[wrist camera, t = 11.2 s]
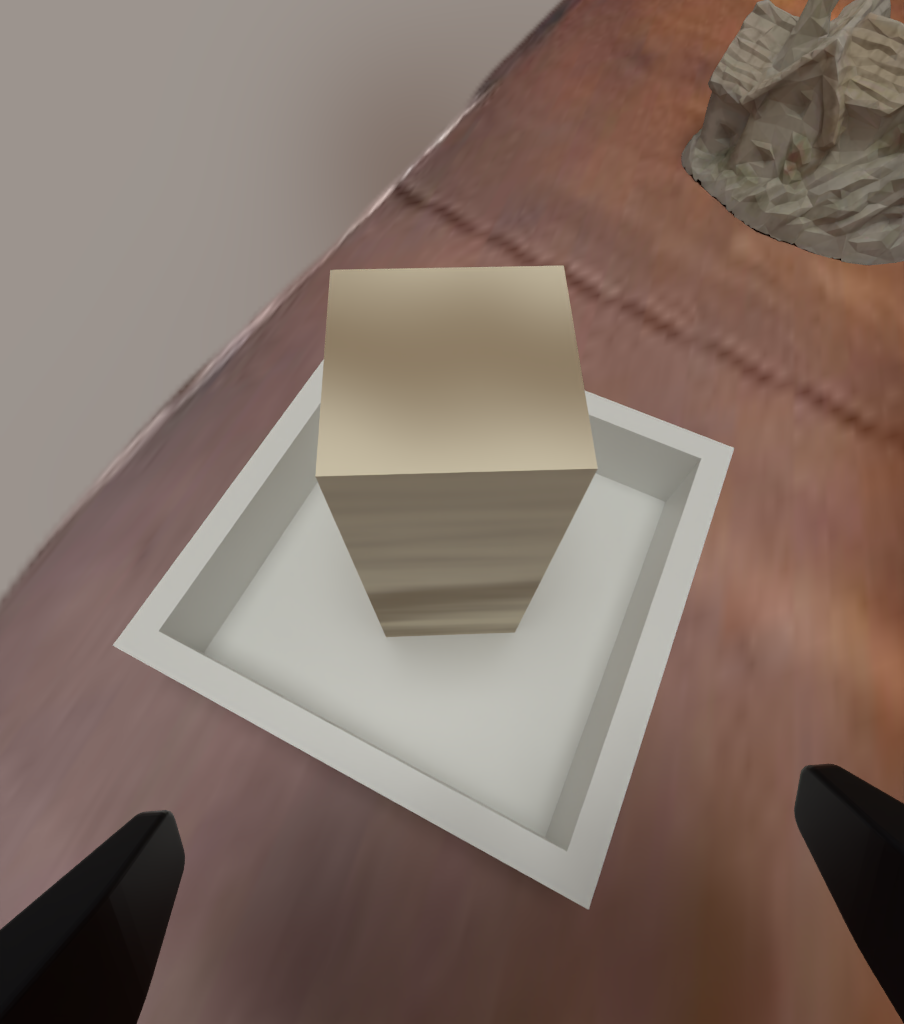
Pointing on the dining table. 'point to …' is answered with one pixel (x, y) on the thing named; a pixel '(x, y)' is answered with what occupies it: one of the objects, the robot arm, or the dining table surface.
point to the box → (450, 644)
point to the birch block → (452, 439)
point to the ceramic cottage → (811, 130)
